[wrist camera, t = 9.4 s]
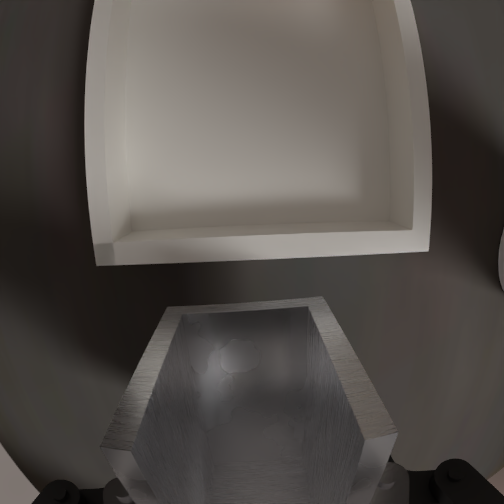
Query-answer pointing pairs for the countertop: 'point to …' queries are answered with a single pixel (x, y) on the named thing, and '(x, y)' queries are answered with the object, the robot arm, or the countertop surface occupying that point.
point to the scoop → (250, 410)
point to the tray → (255, 130)
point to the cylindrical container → (501, 261)
